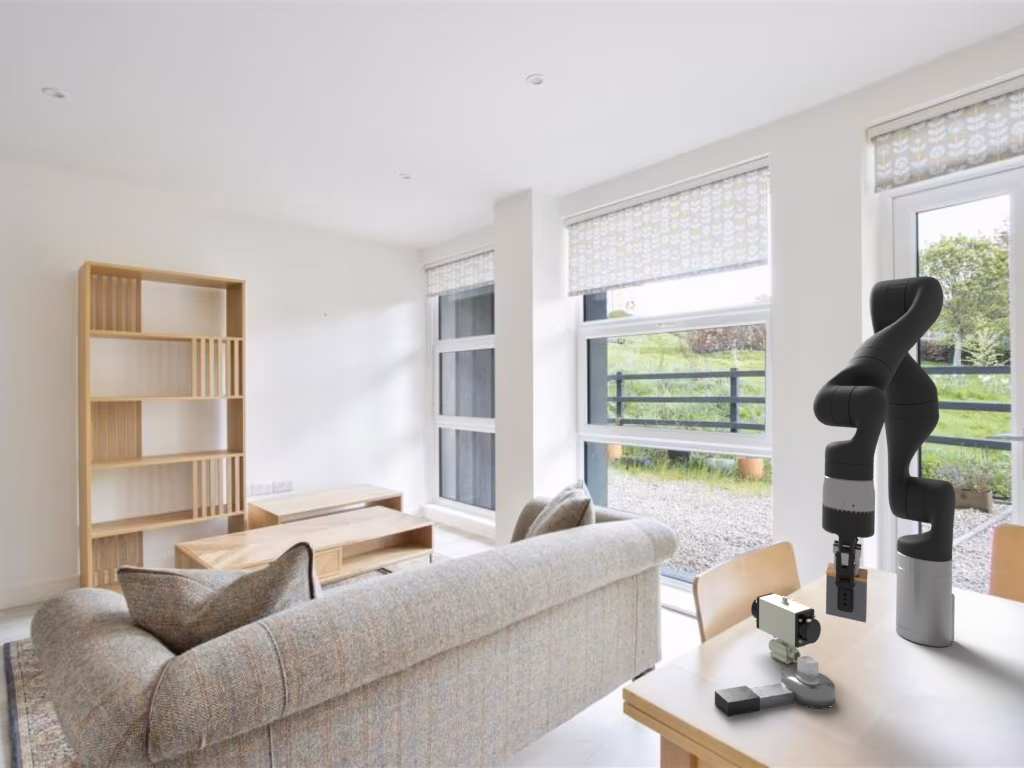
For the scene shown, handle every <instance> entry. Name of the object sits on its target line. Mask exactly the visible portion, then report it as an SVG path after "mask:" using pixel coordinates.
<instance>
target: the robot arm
mask: <svg viewBox="0 0 1024 768" xmlns="http://www.w3.org/2000/svg"><path fill="white" fill-rule="evenodd" d="M868 303H869V314H870V320H871V325H872V329H873V330H872V331H873V335H871V336H870V337H868V338H866V339H865V340H864V341H863V342H862V343H860V345H859V346H858V347H857V349H856V350H855V352H854V353H853V354H852V356H851V358H850V359H849V361H848V363H847V365H846V366H845V367H844V368H843V369H841V370H840V371H839V372H838V373H836V374H835V375H834V376H832V377H831V378H830V379H829V380H827V381H826V382H825V383H824V384H823V385H822V386H821V388H820V389H819V390H818V391H817V393H816V394H815V397H814V401H813V413H814V416H815V418H816V419H817V420H818V422H820V423H821V424H823V425H825V426H828V427H837V428H838V427H839V428H850V429H851V428H852V429H856V430H855V433H854V435H853V436H852V438H850V439H847V440H838V441H837V440H836V441H832V442H829V443H828V444H827V445H826V446H825V451H824V478H823V479H824V480H823V485H822V503H821V504H822V505H821V507H822V508H821V512H822V513H821V514H822V517H821V526H822V529H823V530H824V531H826V532H827V533H828V534H829V533H830V534H833V535H836V536H837V537H838V539H834V541H833V544H832V553H833V555H834V556H833V559H834V560H833V564H834V570H835V572H836V581H835V584H836V586H837V587H838V594H837V608H838V610H840V611H844V612H849V613H851V612H853V598H854V588H855V584H854V582H855V576H857V575H858V572H859V568H860V564H861V557H862V543H858V542H859V538H861V539H864V538H865V539H868V538H871V537H873V536H874V535H875V527H876V526H875V524H876V522H875V521H876V520H875V519H876V490H875V483H874V477H875V476H874V475H875V474H874V473H875V471H874V469H875V464H874V463H875V454H876V449H877V445H878V442H879V438H880V435H881V433H882V430H883V426H884V430H885V437H886V438H885V439H886V446H887V447H886V448H887V482H888V483H887V492H888V493H887V495H888V505H889V508H890V511H891V514H893V516H894V517H896V518H899V519H902V520H909V521H913V522H920V523H923V524H924V523H925V524H930V530H928V531H926V532H922V533H916V534H913V533H912V534H907V535H906V534H905V535H902V536H899V537H898V538H897V541H896V601H895V602H896V603H895V605H896V606H895V607H896V608H895V609H896V610H895V631H896V633H897V634H898V635H899V636H901V637H902V638H904V639H906V640H909V641H911V642H914V643H917V644H920V645H924V646H930V647H938V648H942V647H948V646H950V645H951V644H952V641H955V614H956V613H955V602H956V601H955V599H956V597H955V594H954V593H953V546H954V522H955V511H956V492H955V491H956V490H955V488H954V486H953V484H952V483H951V482H949V481H947V480H943V479H938V478H937V479H935V478H928V477H921V476H920V477H919V476H912V475H911V473H910V466H911V462H912V460H913V458H914V456H916V455H915V454H917V451H918V450H919V449H920V448H921V446H922V445H923V444H924V443H925V442H926V440H927V439H928V438H929V437H930V435H931V434H932V433H933V432H934V430H935V429H936V427H937V425H938V422H939V421H940V406H939V397H938V396H939V395H938V394H939V393H938V388H937V385H936V383H935V382H934V380H933V379H932V377H930V375H929V374H928V372H926V371H925V370H924V369H923V367H922V366H921V365H920V364H919V363H918V362H917V360H915V359H914V357H912V355H911V354H910V353H909V352H910V350H912V348H913V347H914V346H916V344H917V343H918V342H919V341H920V340H921V339H922V338H923V337H924V335H925V334H926V333H927V332H928V331H929V330H930V329H931V327H932V326H933V325H934V324H935V322H936V321H937V320H938V318H939V316H940V315H941V312H942V310H943V306H944V291H943V287H942V284H941V282H940V281H939V279H937V278H935V277H932V276H926V275H925V276H914V277H905V278H896V279H889V280H881V281H877V282H875V284H873V285H872V288H871V289H870V292H869V302H868ZM841 574H843V575H849V576H850V581H846V580H841Z"/></svg>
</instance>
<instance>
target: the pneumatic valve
mask: <svg viewBox="0 0 1024 768" xmlns="http://www.w3.org/2000/svg"><path fill="white" fill-rule="evenodd" d="M750 611H751V615H752V617H753V618H754V619H755V623H756V625H755V626H756V627H755V628H756V629H759V631H762V632H764V633H766V634H768V635H771V636H772V637H773V638H770V641H768V649H769V650H770V653H769V655H770V657H772V659H775V660H776V661H779V662H781V663H783V664H784V663H785V665H786V664H788V665H790V663H797V657H802V656H801V651H800V650H799V648H802V647H804V646H807V645H811V644H815V643H816V642H817V641H818V640H819V638H820V636H821V632H822V627H821V623H820V621H819V620H818V619H817V618H816V615H815V609H814V608H812V607H809V606H807V605H804V604H802V603H801V602H800V601H795V600H794V599H793V598H790V599H789V598H788V597H787V596H786V595H785V596H784V595H782V596H781V595H779V594H776V593H774V592H769V593H766V594H762V595H758V596H756V598H755V599H754V600H753V601H752V603H751V608H750Z"/></svg>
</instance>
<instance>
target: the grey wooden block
mask: <svg viewBox="0 0 1024 768" xmlns="http://www.w3.org/2000/svg"><path fill="white" fill-rule="evenodd" d="M868 575H869V572H868V569H865V568H860V567H859V572H858V575H857V576H855V582H854V584H855V588H854V598H853V612H851V613H849V612H844V611H840V610H838V608H837V594H838V587H837V586H836V584H835V581H836V572H835V570H834V563H831V562H828V564H827V567H826V571H825V576H826V583H825V584H826V586H825V588H826V591H825V615H830V616H834V617H838V618H842V619H847V620H852V621H856V622H861V623H865V624H866V623H867V611H868V610H867V609H868ZM841 580H846V581H850V576H849V575H843V574H841Z"/></svg>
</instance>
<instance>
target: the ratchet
mask: <svg viewBox="0 0 1024 768" xmlns="http://www.w3.org/2000/svg"><path fill="white" fill-rule="evenodd" d="M796 663H797V665H796V667H788V668H785V669H783V670H782V671H781V675H780V677H781V678H780V681H781V682H779V683H773V684H766V685H762V686H757V687H756V686H755V687H748V686H747V685H740V686H736V687H729V688H722V689H718V690H714V705H715V706H716V707H717V708H719V710H720V711H722V712H723V713H724V714H725V715H726V716H727V717H733V716H737V715H743V714H749V713H754V712H759V711H761V710H763V709H764V710H765V709H768V708H773V707H778V706H785V705H789V703H791V704H795V703H794V702H796V704H797V703H798V705H800V706H803V705H804V706H803V707H806V706H808V707H807V708H810V707H813V708H812V709H816V708H826V709H829V708H828V707H830V706H832V705H833V704H834V705H835V703H836V702H835V701H836V699H835V698H836V693H835V691H836V686H835V683H834V682H833V680H831V678H829V677H828V676H826V675H824V674H822V673H820V672H819V661H818V660H816V659H815V658H813V657H811V656H810V655H803V656H800V657H797V662H796ZM834 702H835V703H834ZM834 705H833V706H834ZM833 706H832V707H833ZM830 708H831V707H830Z"/></svg>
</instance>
